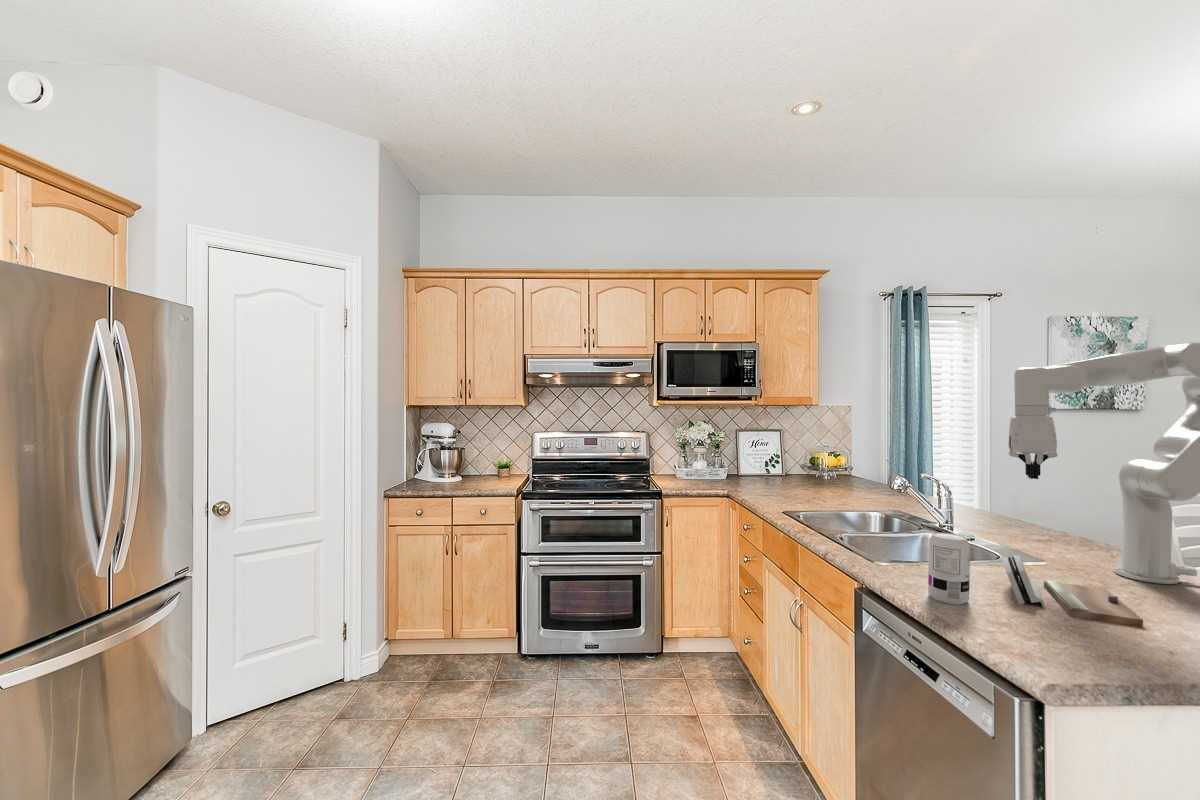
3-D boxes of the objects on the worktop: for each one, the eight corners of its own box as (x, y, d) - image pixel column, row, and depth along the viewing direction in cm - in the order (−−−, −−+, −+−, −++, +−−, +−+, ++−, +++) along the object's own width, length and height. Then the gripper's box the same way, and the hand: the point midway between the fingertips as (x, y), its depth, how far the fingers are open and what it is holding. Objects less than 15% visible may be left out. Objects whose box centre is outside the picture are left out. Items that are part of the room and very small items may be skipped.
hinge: (1046, 608, 127) (1028, 564, 128) (1021, 610, 129) (1004, 568, 131) (1038, 587, 141) (1022, 548, 142) (1015, 589, 143) (1000, 551, 145)
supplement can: (920, 593, 135) (921, 532, 135) (952, 592, 136) (953, 531, 136) (943, 606, 127) (945, 541, 127) (977, 605, 128) (978, 540, 128)
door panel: (1104, 594, 136) (1105, 583, 136) (1142, 626, 117) (1143, 614, 117) (1043, 586, 141) (1043, 576, 141) (1070, 616, 122) (1070, 604, 122)
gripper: (1061, 411, 153) (1062, 477, 154) (996, 411, 160) (997, 475, 160) (1070, 412, 147) (1072, 481, 147) (1002, 412, 153) (1003, 479, 153)
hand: (1033, 478), depth 153 cm, fingers closed
